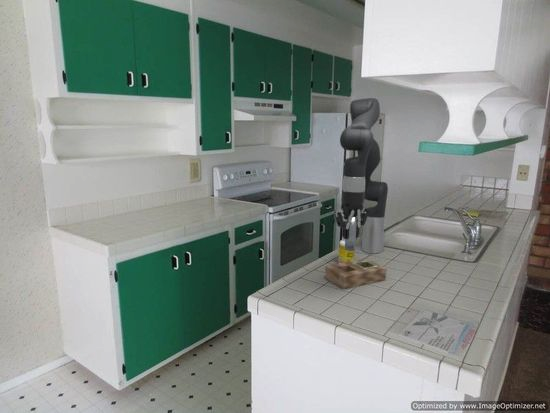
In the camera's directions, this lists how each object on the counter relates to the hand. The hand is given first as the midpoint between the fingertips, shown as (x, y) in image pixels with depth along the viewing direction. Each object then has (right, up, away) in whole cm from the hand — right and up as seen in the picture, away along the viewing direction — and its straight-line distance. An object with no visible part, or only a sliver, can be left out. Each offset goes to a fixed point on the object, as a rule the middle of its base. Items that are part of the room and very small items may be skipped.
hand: (350, 237), depth 137 cm
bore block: (+5, -17, +17) cm, 25 cm away
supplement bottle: (+4, -14, +33) cm, 37 cm away
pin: (0, -4, +1) cm, 4 cm away
